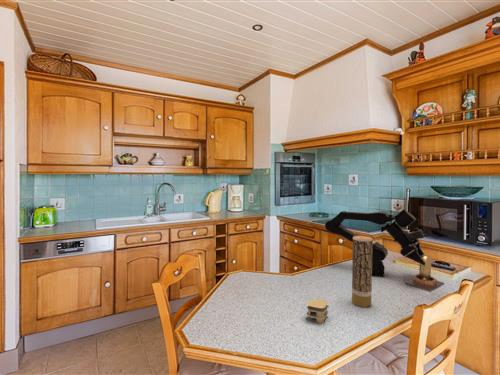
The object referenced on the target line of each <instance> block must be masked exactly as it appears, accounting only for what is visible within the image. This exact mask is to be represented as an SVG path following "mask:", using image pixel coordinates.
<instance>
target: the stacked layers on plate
mask: <svg viewBox="0 0 500 375" xmlns="http://www.w3.org/2000/svg"><path fill="white" fill-rule="evenodd" d="M306 304H307V306H306V309H307V312H306V315H307V316H308V317H310V318H313V319H316V320H315V322H316V323H318V324H324V323H325V320H326V319H327V318H328V315H329V314H328V313H329V311H328V308H329V301H327V300H324V299H320V298H316V299H313V300H310V301H308V302H306Z"/></svg>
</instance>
